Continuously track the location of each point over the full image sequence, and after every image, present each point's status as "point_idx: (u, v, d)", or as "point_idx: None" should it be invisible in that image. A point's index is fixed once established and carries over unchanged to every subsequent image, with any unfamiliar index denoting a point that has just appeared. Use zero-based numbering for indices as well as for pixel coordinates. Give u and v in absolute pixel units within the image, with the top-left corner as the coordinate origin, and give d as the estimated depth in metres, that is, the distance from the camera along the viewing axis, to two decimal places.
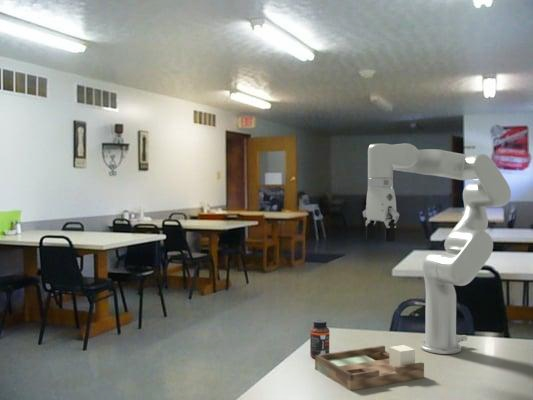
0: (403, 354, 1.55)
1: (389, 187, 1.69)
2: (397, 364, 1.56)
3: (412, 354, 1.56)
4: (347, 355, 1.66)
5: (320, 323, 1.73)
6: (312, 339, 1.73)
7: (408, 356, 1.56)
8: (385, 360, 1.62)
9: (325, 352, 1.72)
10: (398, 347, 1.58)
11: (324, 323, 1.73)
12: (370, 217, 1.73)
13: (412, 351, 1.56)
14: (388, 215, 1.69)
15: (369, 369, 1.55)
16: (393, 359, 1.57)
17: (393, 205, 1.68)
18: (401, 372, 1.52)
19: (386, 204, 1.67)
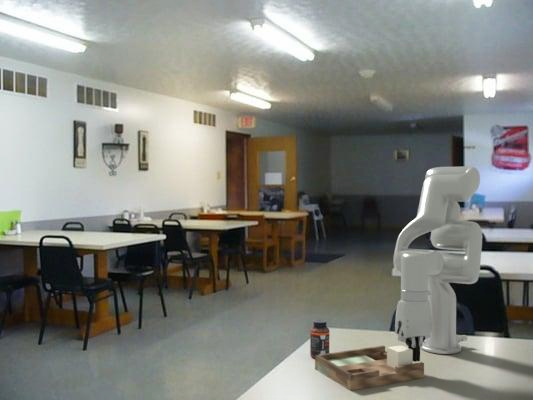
0: (401, 354, 1.55)
1: None
2: (395, 364, 1.55)
3: (409, 354, 1.56)
4: (347, 355, 1.66)
5: (320, 323, 1.73)
6: (312, 339, 1.73)
7: (406, 356, 1.55)
8: (385, 360, 1.62)
9: (325, 352, 1.72)
10: (396, 347, 1.58)
11: (324, 323, 1.73)
12: (413, 334, 1.57)
13: (410, 351, 1.56)
14: None
15: (369, 369, 1.55)
16: (391, 359, 1.57)
17: None
18: (401, 372, 1.52)
19: None
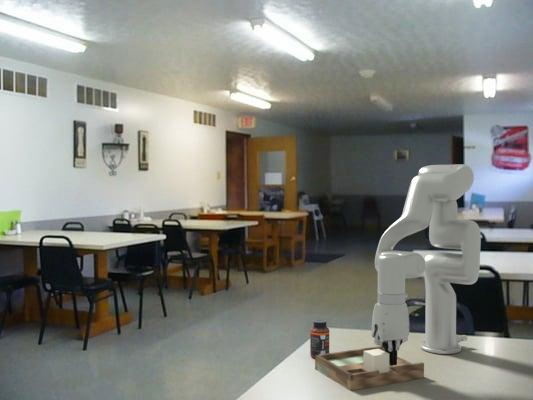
0: (377, 358, 1.51)
1: None
2: (371, 368, 1.52)
3: (386, 358, 1.53)
4: (347, 355, 1.66)
5: (320, 323, 1.73)
6: (312, 339, 1.73)
7: (382, 360, 1.52)
8: None
9: (325, 352, 1.72)
10: (372, 351, 1.55)
11: (324, 323, 1.73)
12: (389, 338, 1.53)
13: (386, 355, 1.53)
14: None
15: None
16: (367, 363, 1.54)
17: None
18: (401, 372, 1.52)
19: None
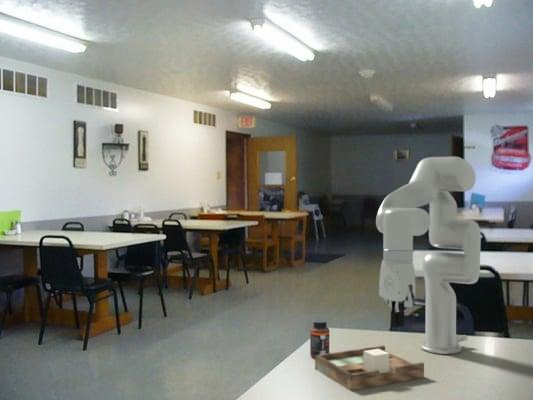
0: (377, 358, 1.51)
1: None
2: (371, 368, 1.52)
3: (386, 358, 1.53)
4: (347, 355, 1.66)
5: (320, 323, 1.73)
6: (312, 339, 1.73)
7: (382, 360, 1.52)
8: None
9: (325, 352, 1.72)
10: (372, 351, 1.55)
11: (324, 323, 1.73)
12: None
13: (386, 355, 1.53)
14: None
15: None
16: (367, 363, 1.54)
17: None
18: (401, 372, 1.52)
19: None
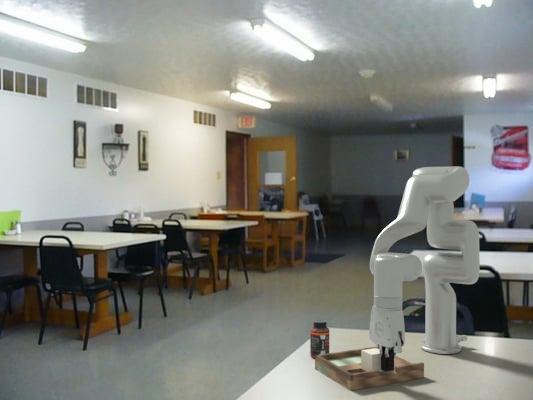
0: (375, 357, 1.52)
1: None
2: (369, 368, 1.53)
3: None
4: (347, 355, 1.66)
5: (320, 323, 1.73)
6: (312, 339, 1.73)
7: (380, 359, 1.52)
8: None
9: (325, 352, 1.72)
10: (370, 350, 1.55)
11: (324, 323, 1.73)
12: None
13: None
14: None
15: None
16: (365, 363, 1.54)
17: None
18: (401, 372, 1.52)
19: None
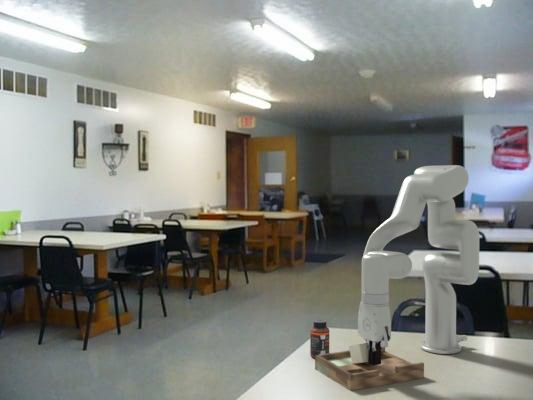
0: (362, 346, 1.57)
1: None
2: (359, 358, 1.57)
3: None
4: (347, 355, 1.66)
5: (320, 323, 1.73)
6: (312, 339, 1.73)
7: (367, 348, 1.58)
8: (385, 360, 1.62)
9: (325, 352, 1.72)
10: None
11: (324, 323, 1.73)
12: None
13: None
14: None
15: (369, 369, 1.55)
16: (354, 356, 1.59)
17: None
18: (401, 372, 1.52)
19: None
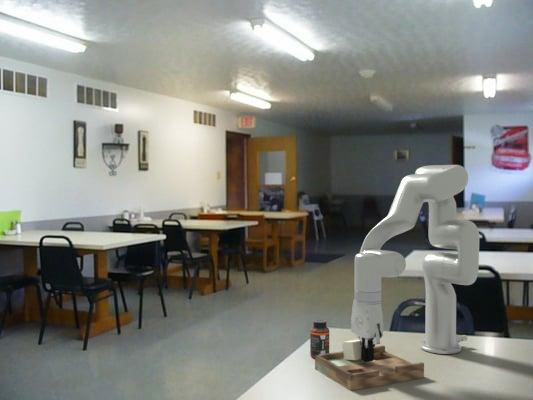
0: (355, 344, 1.61)
1: None
2: (351, 356, 1.61)
3: None
4: None
5: (320, 323, 1.73)
6: (312, 339, 1.73)
7: (360, 346, 1.61)
8: (385, 360, 1.62)
9: (325, 352, 1.72)
10: (350, 341, 1.64)
11: (324, 323, 1.73)
12: None
13: None
14: None
15: (369, 369, 1.55)
16: (347, 352, 1.63)
17: None
18: (401, 372, 1.52)
19: None
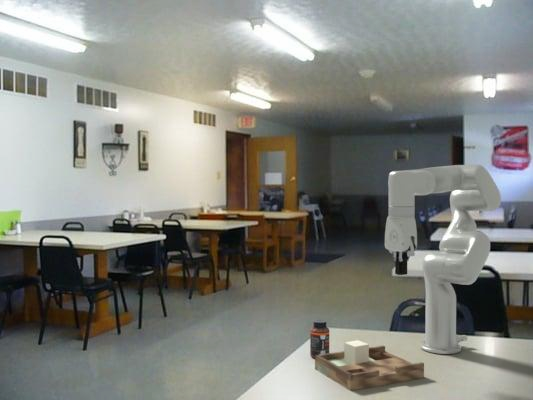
0: (358, 349, 1.60)
1: None
2: (352, 359, 1.61)
3: (366, 348, 1.61)
4: None
5: (320, 323, 1.73)
6: (312, 339, 1.73)
7: (362, 351, 1.61)
8: (385, 360, 1.62)
9: (325, 352, 1.72)
10: (352, 342, 1.63)
11: (324, 323, 1.73)
12: None
13: (366, 346, 1.61)
14: None
15: (369, 369, 1.55)
16: (348, 354, 1.62)
17: None
18: (401, 372, 1.52)
19: None
